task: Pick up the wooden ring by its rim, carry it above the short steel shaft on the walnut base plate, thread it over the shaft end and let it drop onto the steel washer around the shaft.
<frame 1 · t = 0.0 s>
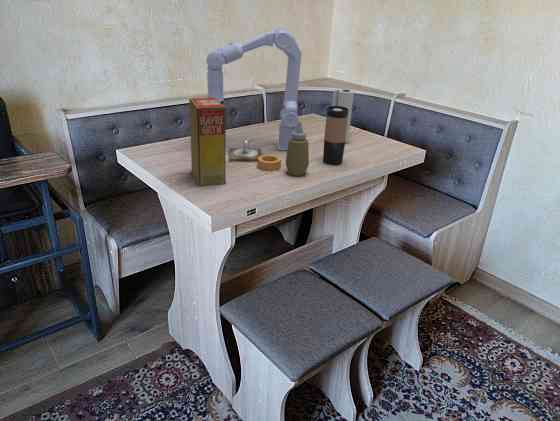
hand: (216, 121, 175), 10 cm above the table, tool pointing down, fingers open, 7 cm apart
food packaging: (208, 178, 152), on the table
wooden ring: (269, 166, 163), on the table
squeeze bottle: (296, 173, 159), on the table
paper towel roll: (339, 142, 192), on the table
walnut base plate: (245, 155, 172), on the table
steel shaft: (245, 147, 170), on the walnut base plate, point 4 cm above the table
travel mug: (332, 162, 170), on the table
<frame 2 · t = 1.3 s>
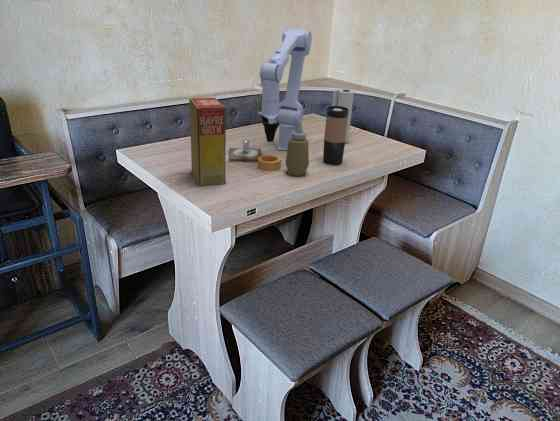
hand: (269, 138, 162), 9 cm above the table, tool pointing down, fingers open, 7 cm apart
nothing on the table moved.
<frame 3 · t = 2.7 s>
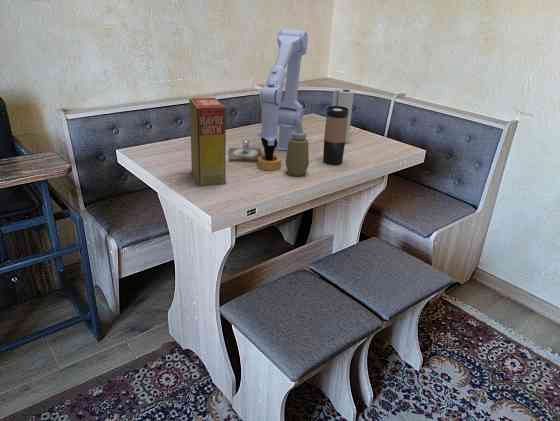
hand: (268, 158, 165), 2 cm above the table, tool pointing down, fingers closed on wooden ring
wooden ring: (269, 166, 163), on the table, touching gripper
everything else where it was.
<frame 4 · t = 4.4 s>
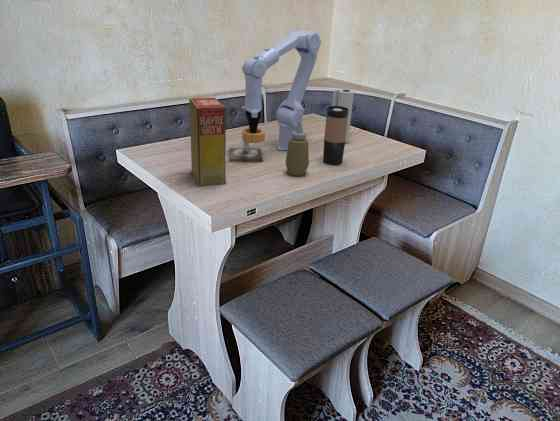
hand: (252, 131, 168), 9 cm above the table, tool pointing down, fingers closed on wooden ring
wooden ring: (253, 139, 166), point 8 cm above the table, touching gripper
everything else where it was.
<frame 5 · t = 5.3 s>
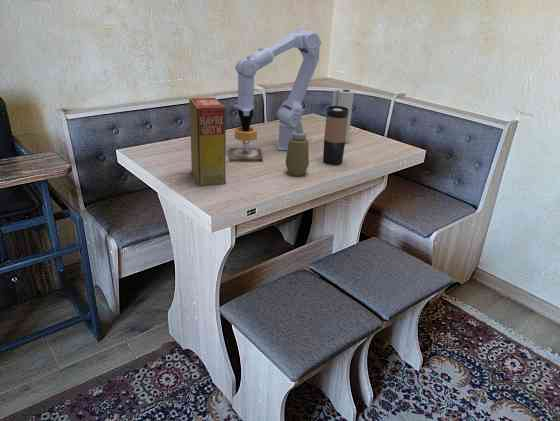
hand: (245, 130, 171), 9 cm above the table, tool pointing down, fingers closed on wooden ring
wooden ring: (245, 137, 169), point 7 cm above the table, touching gripper
everything else where it was.
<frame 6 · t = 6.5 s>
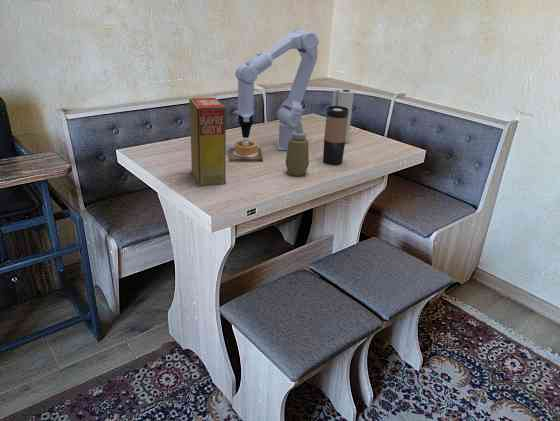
hand: (245, 135, 172), 7 cm above the table, tool pointing down, fingers open, 4 cm apart
wooden ring: (246, 151, 172), point 1 cm above the table, touching walnut base plate
everything else where it was.
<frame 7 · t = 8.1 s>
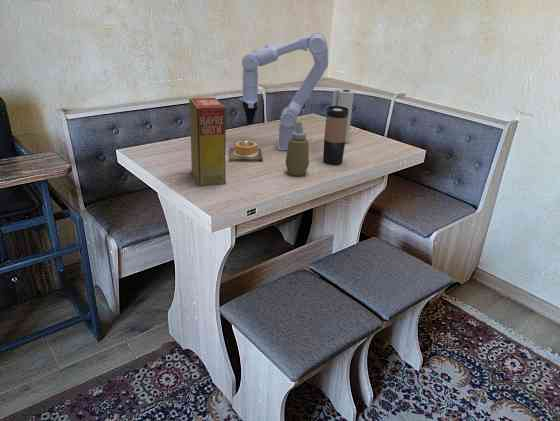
hand: (249, 121, 179), 9 cm above the table, tool pointing down, fingers open, 4 cm apart
nothing on the table moved.
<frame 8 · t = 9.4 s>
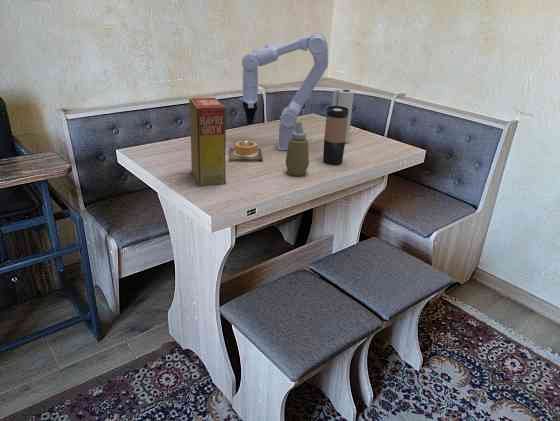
hand: (249, 121, 179), 9 cm above the table, tool pointing down, fingers open, 4 cm apart
nothing on the table moved.
at the end: wooden ring 1.0 cm from the steel shaft (horizontally); wooden ring point 1.3 cm above the table; wooden ring tilted 0° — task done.
